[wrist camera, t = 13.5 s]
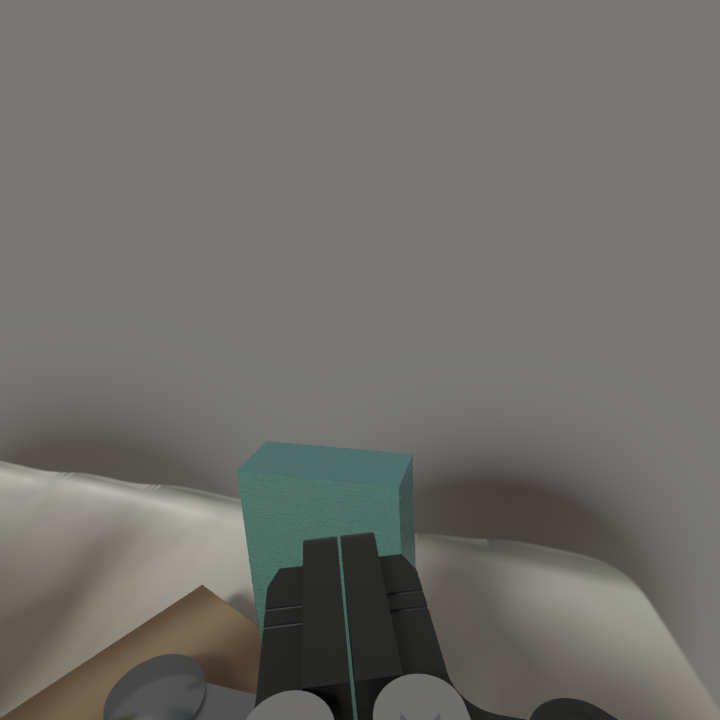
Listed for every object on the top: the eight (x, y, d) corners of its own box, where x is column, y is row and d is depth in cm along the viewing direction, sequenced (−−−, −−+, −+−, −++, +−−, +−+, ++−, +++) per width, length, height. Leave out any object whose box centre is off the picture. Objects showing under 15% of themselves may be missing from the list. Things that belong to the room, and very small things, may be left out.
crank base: (-25, 797, 23) (-88, 637, 20) (281, 573, 36) (267, 456, 33) (99, 1076, 15) (25, 879, 13) (431, 666, 28) (429, 524, 25)
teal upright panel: (87, 753, 21) (4, 462, 17) (151, 669, 25) (94, 414, 21) (404, 849, 18) (390, 508, 14) (424, 735, 21) (418, 440, 17)
